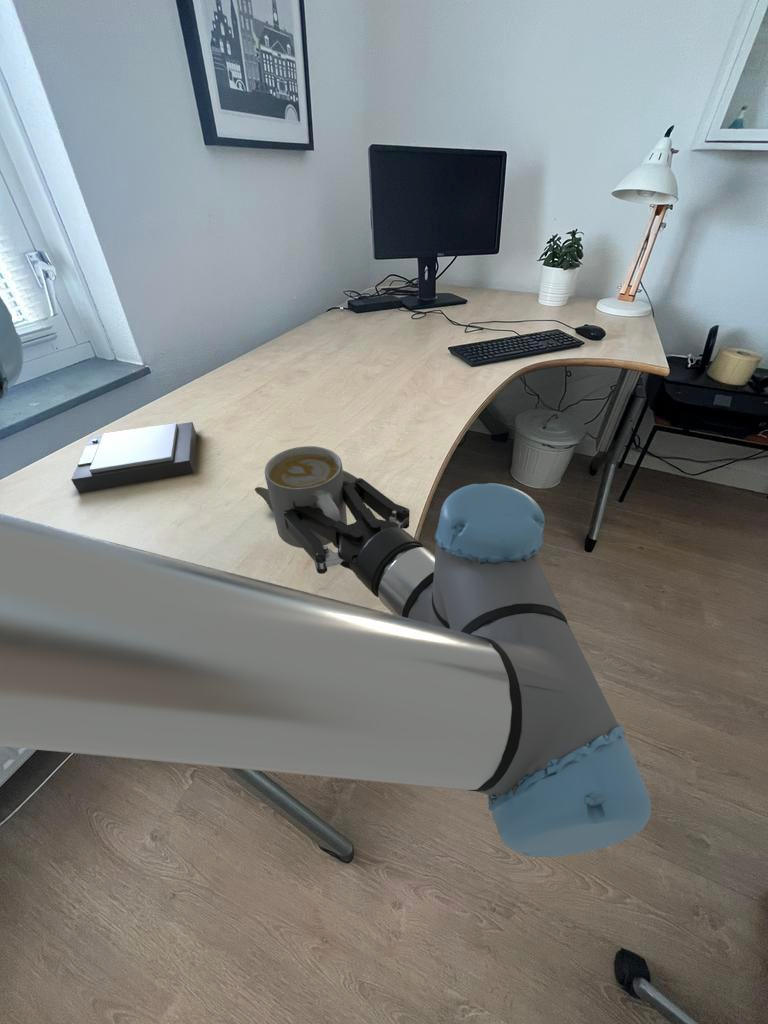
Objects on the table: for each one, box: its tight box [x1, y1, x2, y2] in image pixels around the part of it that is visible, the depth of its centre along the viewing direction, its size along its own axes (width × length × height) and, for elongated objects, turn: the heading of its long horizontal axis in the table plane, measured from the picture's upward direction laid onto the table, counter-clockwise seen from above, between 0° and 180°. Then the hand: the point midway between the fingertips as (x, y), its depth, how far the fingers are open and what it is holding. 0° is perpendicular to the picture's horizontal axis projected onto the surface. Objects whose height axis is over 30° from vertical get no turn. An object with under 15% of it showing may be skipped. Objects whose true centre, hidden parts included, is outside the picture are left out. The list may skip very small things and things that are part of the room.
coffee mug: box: [264, 445, 348, 549], centre depth 58 cm, size 13×10×10 cm
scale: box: [70, 421, 197, 494], centre depth 86 cm, size 20×16×4 cm
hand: (296, 476), depth 61 cm, fingers closed on coffee mug, 4 cm apart
